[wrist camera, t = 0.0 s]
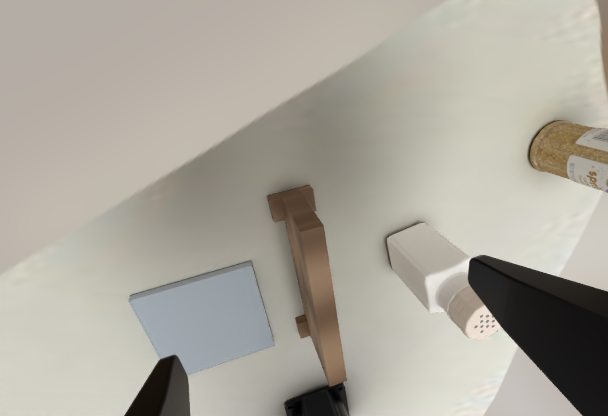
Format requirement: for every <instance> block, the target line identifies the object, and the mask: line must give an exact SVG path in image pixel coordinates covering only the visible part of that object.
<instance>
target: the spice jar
mask: <svg viewBox="0 0 608 416" xmlns="http://www.w3.org/2000/svg"><path fill="white" fill-rule="evenodd" d="M530 161H531V164H532V165H533V167H534V168H535V169H537V170H539V171H542V172H549V173H552V174H555V175H559V176H561V177H565V178H568V179H571V180H572V181H574V182H577V183H580V184H583V185H586V186H589V187H592V188H596V189H599V190H602V191H605V192H608V129H605V128H592V127H587V126H582V125H577V124H572V123H571V122H568V121H563V120H561V121H555V122H553V123H551V124H549V125H547V126H546V127H545V128H543V129H542V130H541V131H540V133H539V134H538V135H537V137H536V138H535V139H534V142H533V144H532V146H531V151H530Z"/></svg>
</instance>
